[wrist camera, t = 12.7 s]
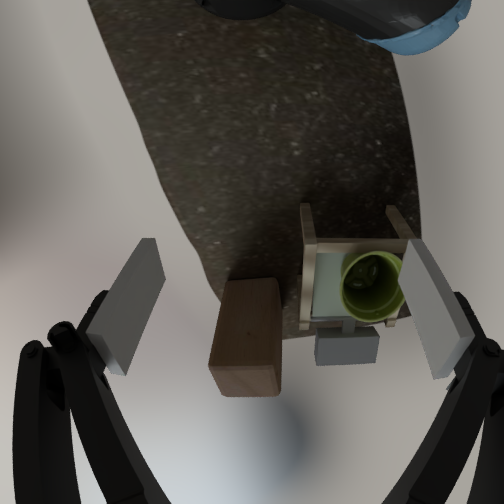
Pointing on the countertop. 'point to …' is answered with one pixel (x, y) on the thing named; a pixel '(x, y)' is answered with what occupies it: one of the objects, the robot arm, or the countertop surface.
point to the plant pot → (371, 285)
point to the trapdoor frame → (342, 246)
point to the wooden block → (248, 339)
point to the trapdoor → (338, 318)
